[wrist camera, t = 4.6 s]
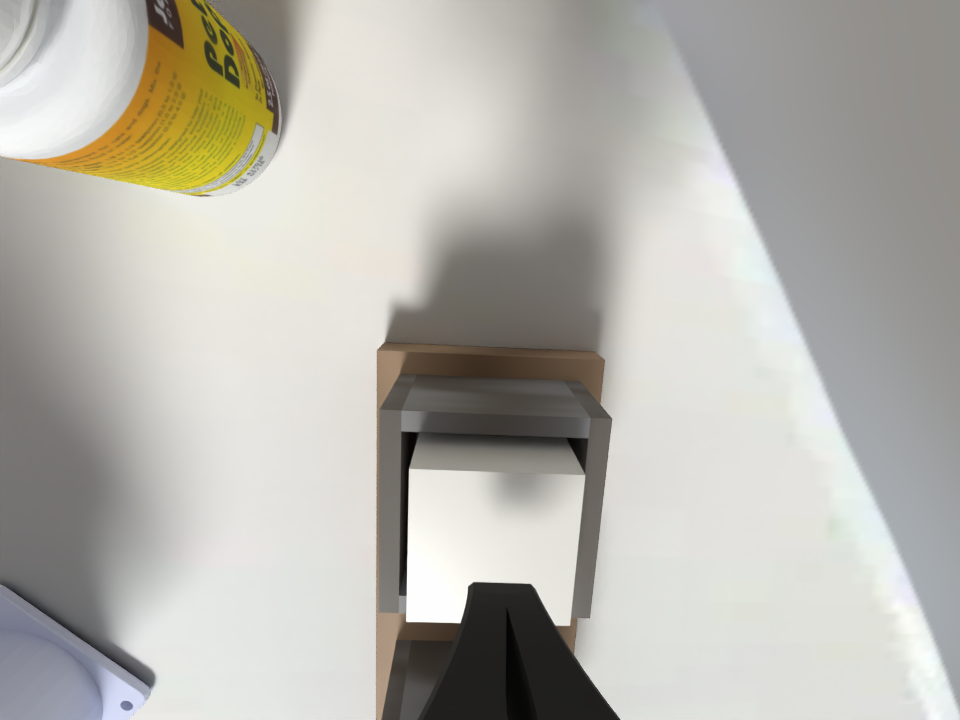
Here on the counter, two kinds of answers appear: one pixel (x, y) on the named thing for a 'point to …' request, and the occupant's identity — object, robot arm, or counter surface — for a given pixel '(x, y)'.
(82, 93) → the supplement bottle
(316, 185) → the counter surface
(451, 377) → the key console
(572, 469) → the white key
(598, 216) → the counter surface
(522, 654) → the robot arm
